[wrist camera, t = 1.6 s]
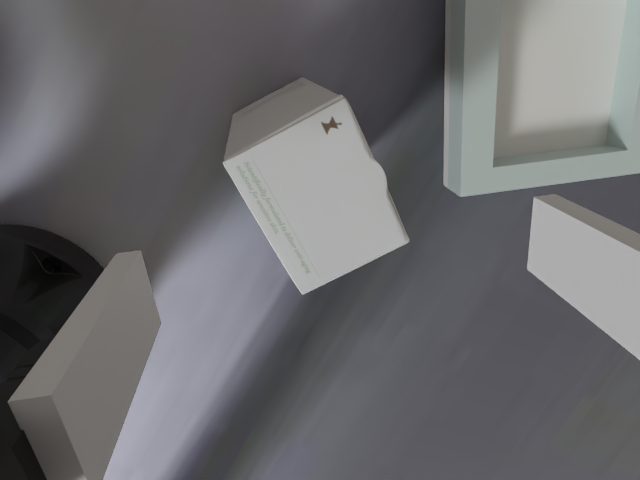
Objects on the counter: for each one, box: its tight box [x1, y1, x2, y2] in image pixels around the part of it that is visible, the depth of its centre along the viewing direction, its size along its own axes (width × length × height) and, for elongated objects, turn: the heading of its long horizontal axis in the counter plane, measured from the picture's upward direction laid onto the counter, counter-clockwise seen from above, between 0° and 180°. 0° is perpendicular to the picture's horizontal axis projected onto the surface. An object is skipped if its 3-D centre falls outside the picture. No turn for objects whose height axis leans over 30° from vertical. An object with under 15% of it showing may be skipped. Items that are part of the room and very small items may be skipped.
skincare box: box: [223, 77, 410, 294], centre depth 28 cm, size 8×7×16 cm
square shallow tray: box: [443, 0, 640, 197], centre depth 34 cm, size 16×16×4 cm
